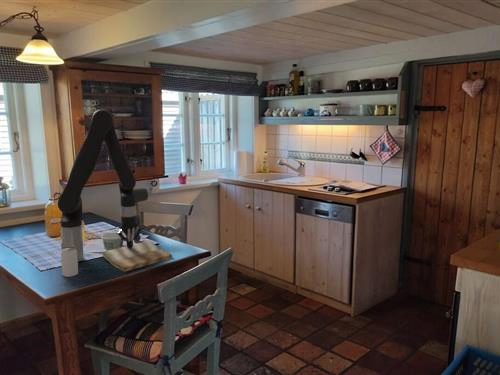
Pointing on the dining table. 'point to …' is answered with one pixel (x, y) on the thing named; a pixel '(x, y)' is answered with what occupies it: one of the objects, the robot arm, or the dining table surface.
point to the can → (69, 261)
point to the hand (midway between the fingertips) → (129, 247)
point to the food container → (112, 241)
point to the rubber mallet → (140, 195)
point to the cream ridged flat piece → (129, 251)
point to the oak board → (142, 260)
